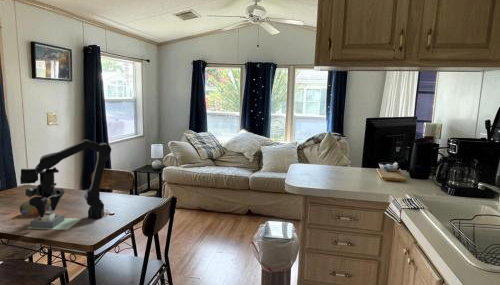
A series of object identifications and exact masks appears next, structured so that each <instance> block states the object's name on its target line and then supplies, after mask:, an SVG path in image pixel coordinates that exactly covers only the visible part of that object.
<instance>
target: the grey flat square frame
mask: <svg viewBox="0 0 500 285" xmlns="http://www.w3.org/2000/svg"><path fill="white" fill-rule="evenodd" d="M64 218H65V214H62V213H60V214H56V213H55V218H54V219H52V220H41V217H40V215H38V216H37V217H35V218H34V219H32V220H30V226H31V227H32V228H54V227H56V226H57V225H58V224H60V223H61V222H63V221H64ZM32 228H31V229H32Z"/></svg>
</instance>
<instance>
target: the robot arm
mask: <svg viewBox="0 0 500 285" xmlns="http://www.w3.org/2000/svg"><path fill="white" fill-rule="evenodd" d="M86 149H88V150H90V151H94V152H96V162H95V163H96V164H95V166H94V170H93V171H94V172H93V175H92V180H91V184H90V187H89V189H87V188H86V189H85V193H84V196H83V197H84V199H85V202H86V204H87V205H88V206H89V207H88V210H87V218H88V219H91V220H100V219H103V218H104V216H105V204H104V203H103V201H102V200H101V199H100V197H101V196H100V188H101V183H102V178H103V174H104V170H105V166H106V163H107V161H108V159H109V157H110V155H111V152H112V147H111V146H110V145H109V144H107V142H96V141H92V140H90V139H83V140H82V141H80V142H78V143H76V144H73V145H71V146H69V147H65V148H64V149H61V150H60V151H57V152H52V153H47V154H45V155H43V156H41V157H40V159H39V163H38V164H37V165H36V166H35V168H20V176H19V177H20V178H19V179H20V180H19V182H20V185H27V184H36V182H38V181H39V184H37V187H34V188H32V187H30V188H27V189H25V191H24V192H25V193H24V194H25V196H26V197H28V198H30V199H29V200H28V201H29V205H31V206H34V207H36V209H37V211H38V213H39V215H38V216H40V217H44V214H45V211H46V207H47V204H48V203H47V200H50V201H51V208H52V210H54V211H55V210H56V208H57V207H58V204H59V203H60V201H61V199H62V197H63V195H64V194H65V190H64V189H63V188H55V187H56V186H57V183H56V182H55V174H56V173H59V172H60V171H59V170H60V169H58V168H56V165H58V164H59V163H60V162H61V161H63V160H65V159H67V158H69V157H72V156H73V155H75V154H78V153H81V152H82V151H85V150H86ZM33 196H34V197H33ZM55 212H56V211H55Z"/></svg>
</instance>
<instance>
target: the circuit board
mask: <svg viewBox="0 0 500 285" xmlns="http://www.w3.org/2000/svg"><path fill="white" fill-rule="evenodd" d="M81 220H82V218H74V217H73V218H70V217H69V218H68V217H67V218H66V217H64V221H63V222H61V223H60V224H58V225H57V226H56V227H54V228H32V227H31V225H30V226H28V227H27V229H38V230H59V231H60V230H62V231H63V230H65V231H67V230H69V229H70V228H72V227H73V226H74V225H76V224H77V223H78V222H80V221H81Z"/></svg>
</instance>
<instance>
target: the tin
mask: <svg viewBox="0 0 500 285" xmlns="http://www.w3.org/2000/svg"><path fill="white" fill-rule="evenodd" d="M47 203H48V204H47V207H46V210H52V208H51V200H50V199H47ZM19 213H20V214H21V216H23V217H26V216H40V215H39V213H38V211H37V209H36V207H34V206H31V205H29V200H26V201H24V202H22V203H21V205H20V206H19Z"/></svg>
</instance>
